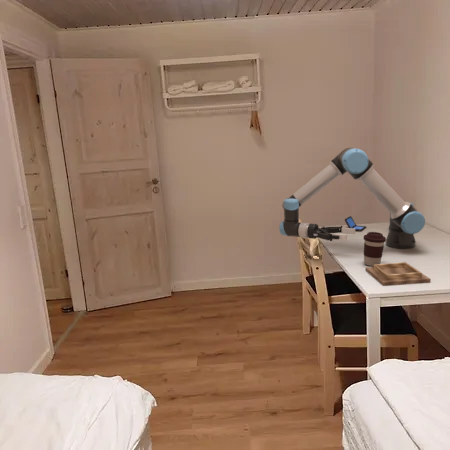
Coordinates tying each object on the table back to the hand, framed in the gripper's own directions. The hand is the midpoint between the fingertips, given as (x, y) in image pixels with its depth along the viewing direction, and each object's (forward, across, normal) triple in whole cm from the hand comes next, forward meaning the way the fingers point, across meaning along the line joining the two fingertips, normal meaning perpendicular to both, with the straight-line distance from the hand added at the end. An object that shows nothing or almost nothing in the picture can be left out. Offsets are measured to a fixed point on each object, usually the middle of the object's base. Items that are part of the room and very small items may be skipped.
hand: (350, 234), depth 211 cm
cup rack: (+24, +12, -14) cm, 30 cm away
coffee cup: (+10, 0, -14) cm, 17 cm away
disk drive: (+8, -71, -14) cm, 73 cm away
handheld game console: (-17, -68, -14) cm, 72 cm away
